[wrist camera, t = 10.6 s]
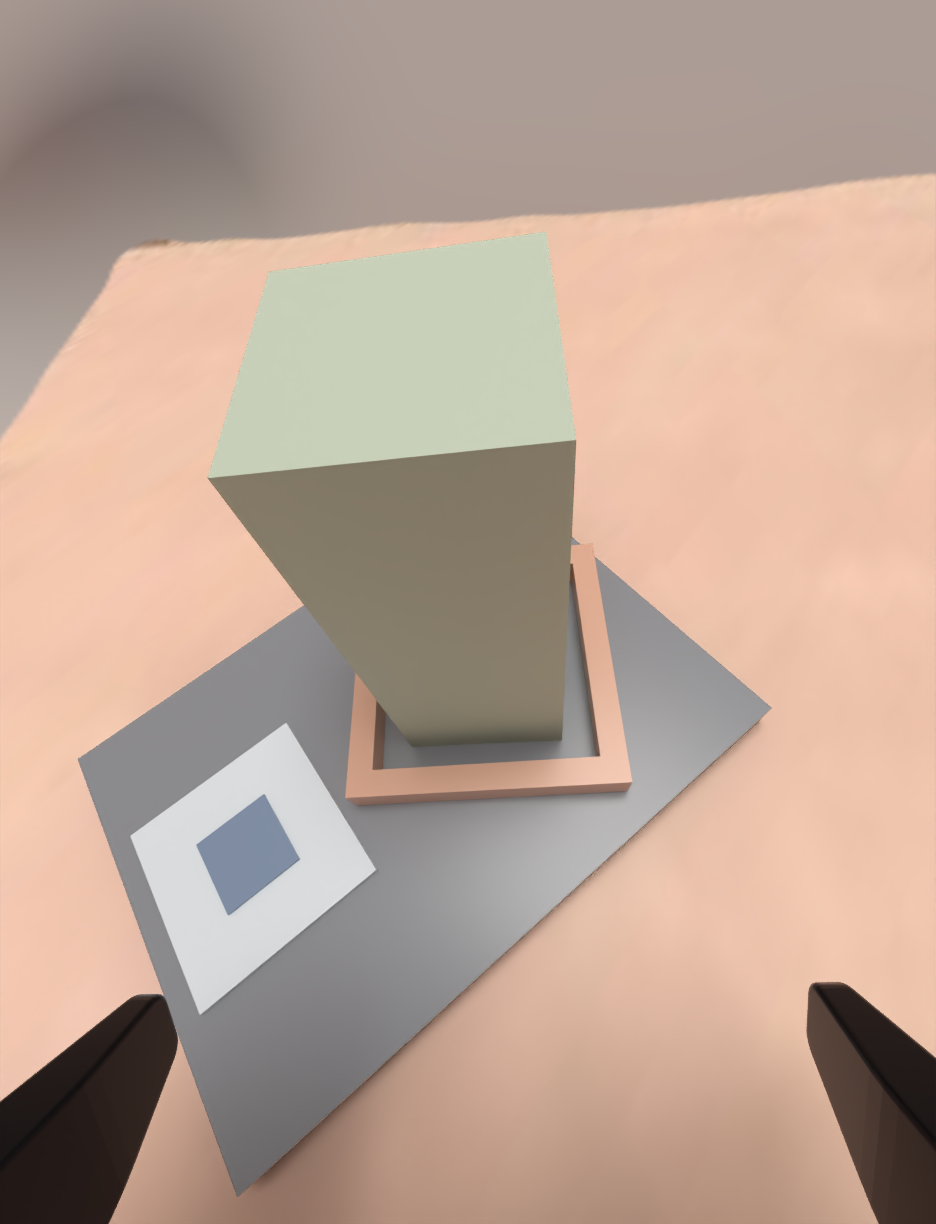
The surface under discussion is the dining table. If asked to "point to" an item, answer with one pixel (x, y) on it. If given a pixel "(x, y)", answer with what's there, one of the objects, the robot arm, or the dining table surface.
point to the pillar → (418, 477)
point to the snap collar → (506, 777)
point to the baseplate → (363, 857)
